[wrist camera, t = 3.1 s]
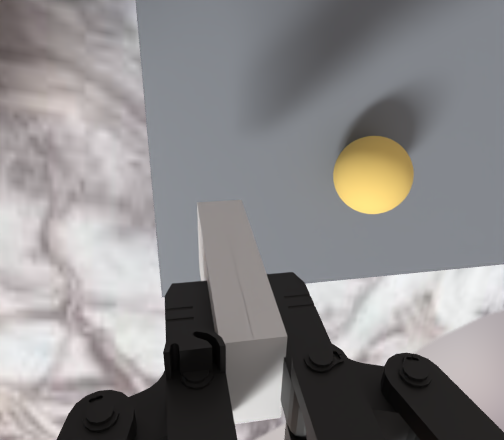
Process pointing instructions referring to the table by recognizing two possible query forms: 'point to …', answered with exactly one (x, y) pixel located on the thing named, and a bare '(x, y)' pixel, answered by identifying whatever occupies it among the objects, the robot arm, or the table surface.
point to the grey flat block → (326, 129)
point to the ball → (373, 174)
